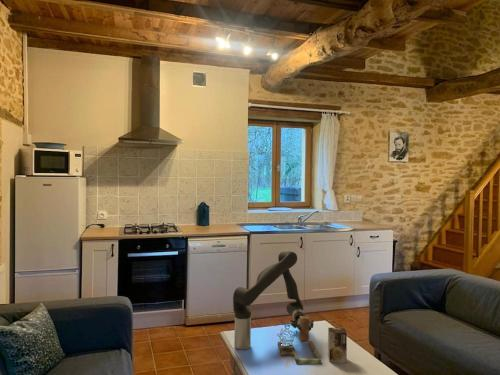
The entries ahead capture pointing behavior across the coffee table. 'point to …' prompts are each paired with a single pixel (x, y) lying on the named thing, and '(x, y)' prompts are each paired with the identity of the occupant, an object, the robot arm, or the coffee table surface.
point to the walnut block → (304, 329)
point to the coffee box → (337, 345)
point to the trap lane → (288, 352)
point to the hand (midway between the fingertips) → (305, 329)
